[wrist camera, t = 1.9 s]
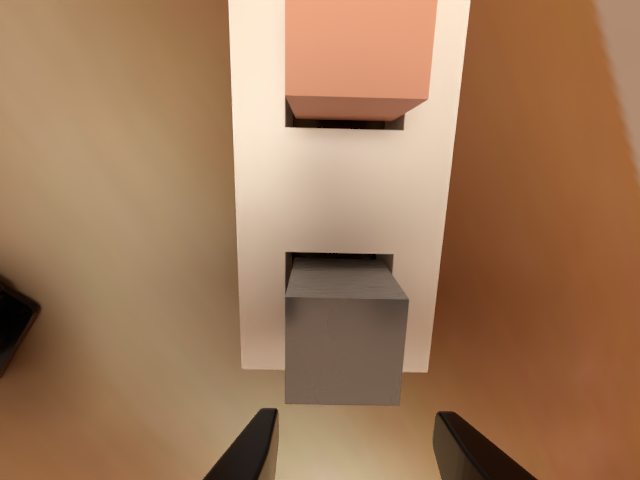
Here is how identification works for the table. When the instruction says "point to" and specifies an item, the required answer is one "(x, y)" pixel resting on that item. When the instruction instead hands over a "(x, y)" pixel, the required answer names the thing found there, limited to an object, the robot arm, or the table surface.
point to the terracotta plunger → (358, 57)
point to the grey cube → (344, 333)
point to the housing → (336, 182)
